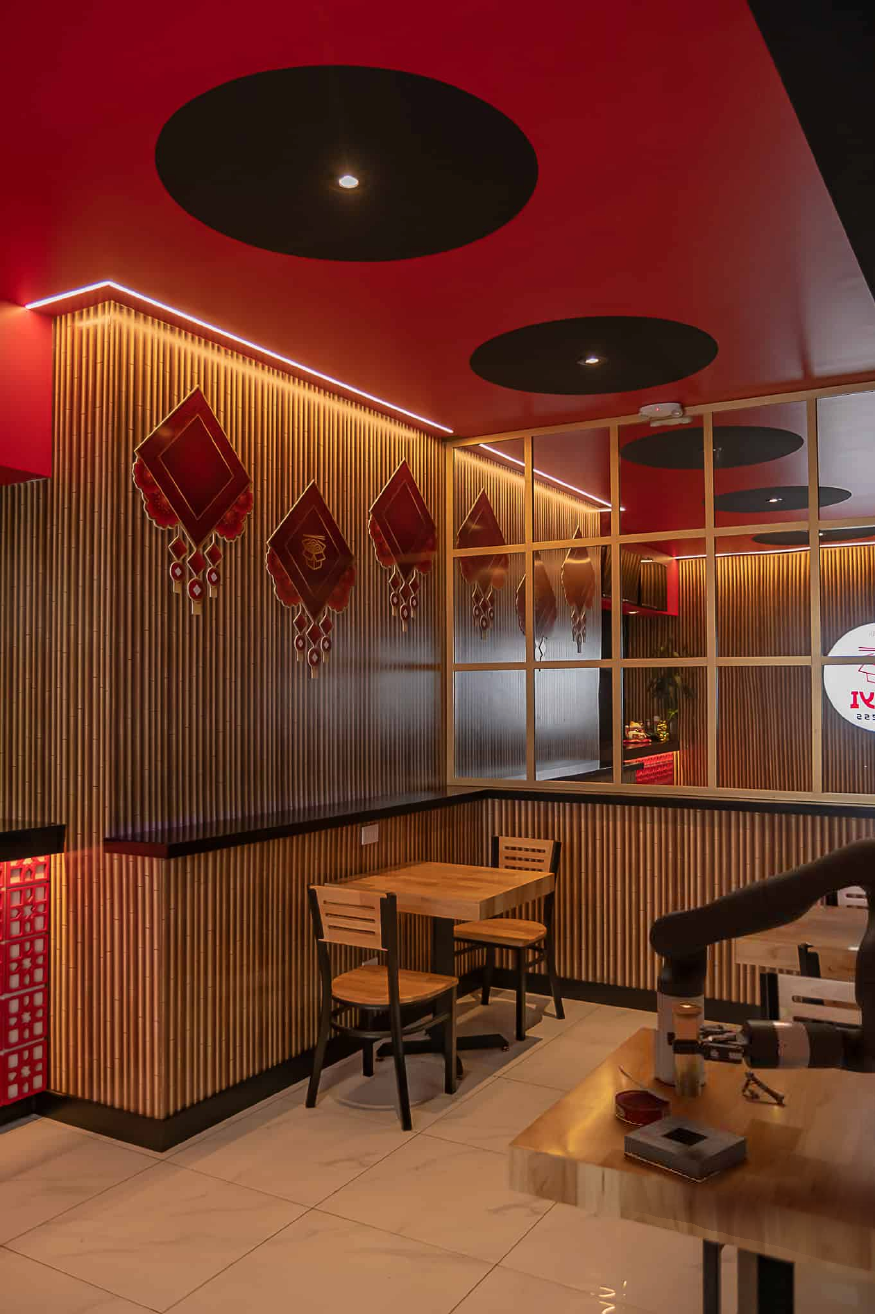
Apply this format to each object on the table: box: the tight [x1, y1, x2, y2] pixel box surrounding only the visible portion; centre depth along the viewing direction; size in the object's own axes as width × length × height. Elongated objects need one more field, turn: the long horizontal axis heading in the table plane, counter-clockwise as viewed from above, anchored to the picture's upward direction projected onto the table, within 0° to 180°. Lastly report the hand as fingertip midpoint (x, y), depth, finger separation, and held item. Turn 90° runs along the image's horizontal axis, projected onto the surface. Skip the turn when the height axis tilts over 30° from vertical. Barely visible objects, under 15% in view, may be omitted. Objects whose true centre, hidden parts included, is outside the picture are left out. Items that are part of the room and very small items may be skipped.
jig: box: [623, 1113, 747, 1181], centre depth 157 cm, size 14×14×3 cm
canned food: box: [614, 1066, 671, 1125], centre depth 174 cm, size 11×10×10 cm
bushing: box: [671, 1002, 702, 1098], centre depth 158 cm, size 5×5×14 cm
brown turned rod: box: [741, 1071, 786, 1106], centre depth 183 cm, size 2×8×4 cm, turn 47°
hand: (670, 1042), depth 159 cm, fingers closed on bushing, 4 cm apart
